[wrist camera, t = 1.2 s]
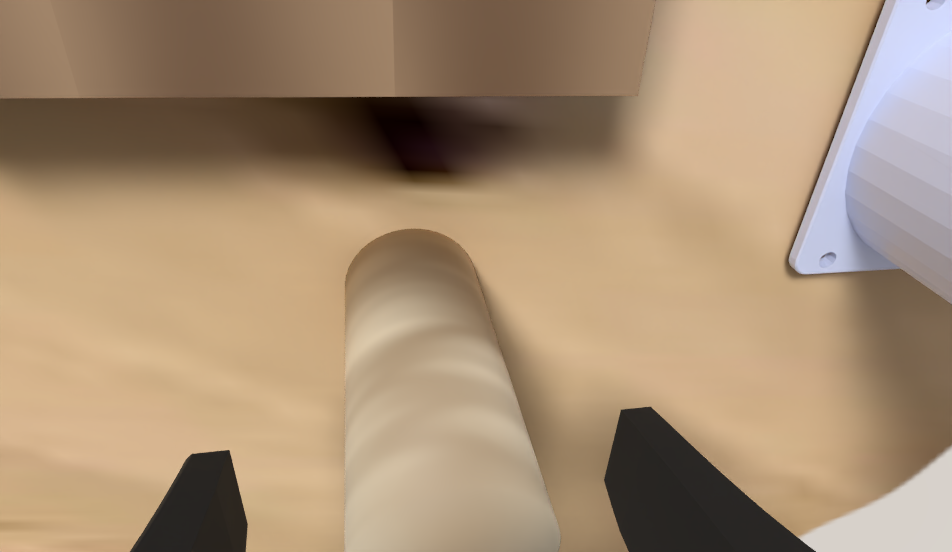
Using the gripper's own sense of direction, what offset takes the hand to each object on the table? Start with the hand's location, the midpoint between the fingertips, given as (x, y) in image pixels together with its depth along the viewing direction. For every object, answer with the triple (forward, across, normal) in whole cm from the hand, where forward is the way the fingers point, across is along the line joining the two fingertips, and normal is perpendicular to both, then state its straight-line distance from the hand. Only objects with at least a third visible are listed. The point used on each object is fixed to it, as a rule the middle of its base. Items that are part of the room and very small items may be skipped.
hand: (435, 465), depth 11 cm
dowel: (+6, 0, 0) cm, 6 cm away
